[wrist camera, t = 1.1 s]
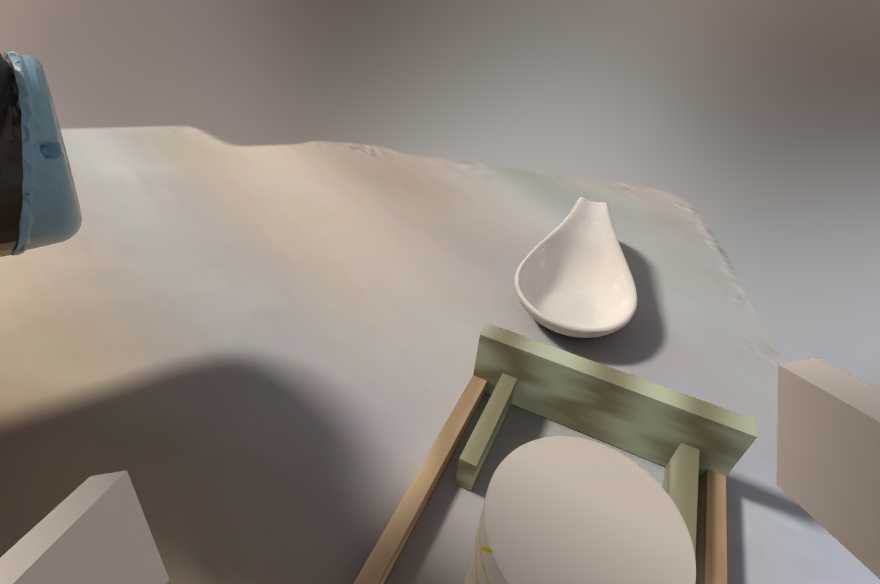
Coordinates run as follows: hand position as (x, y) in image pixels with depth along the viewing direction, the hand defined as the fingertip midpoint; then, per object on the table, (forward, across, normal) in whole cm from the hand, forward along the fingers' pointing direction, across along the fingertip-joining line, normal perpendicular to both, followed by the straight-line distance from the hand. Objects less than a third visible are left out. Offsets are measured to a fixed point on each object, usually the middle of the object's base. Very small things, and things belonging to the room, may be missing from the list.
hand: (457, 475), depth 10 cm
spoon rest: (+43, +14, -9) cm, 46 cm away
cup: (+12, +2, -19) cm, 23 cm away
